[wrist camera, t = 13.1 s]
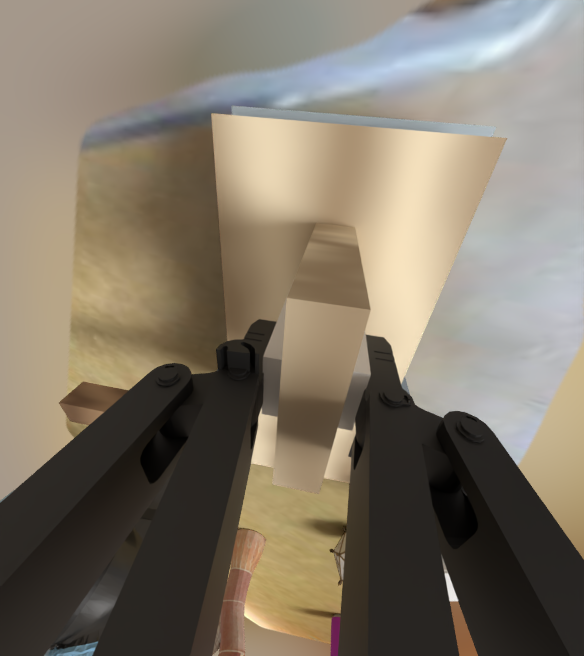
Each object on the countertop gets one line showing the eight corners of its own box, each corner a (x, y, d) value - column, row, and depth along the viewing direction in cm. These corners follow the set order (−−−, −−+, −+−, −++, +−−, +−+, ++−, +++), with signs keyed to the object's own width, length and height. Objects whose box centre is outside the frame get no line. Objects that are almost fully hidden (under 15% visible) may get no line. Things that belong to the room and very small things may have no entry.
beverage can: (337, 619, 90) (336, 677, 80) (328, 612, 86) (325, 671, 77) (358, 622, 87) (360, 682, 77) (350, 614, 84) (351, 676, 74)
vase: (236, 539, 64) (168, 781, 39) (229, 526, 60) (148, 785, 35) (278, 546, 62) (235, 807, 37) (274, 533, 58) (221, 814, 33)
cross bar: (92, 399, 26) (70, 421, 24) (83, 381, 24) (58, 402, 22) (229, 427, 24) (219, 452, 22) (228, 409, 23) (216, 434, 21)
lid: (242, 440, 26) (196, 570, 18) (228, 119, 12) (-2, 40, 4) (356, 463, 25) (364, 611, 17) (483, 141, 11) (861, 94, 3)
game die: (363, 514, 54) (388, 576, 49) (324, 529, 54) (345, 593, 49) (364, 521, 47) (394, 595, 42) (320, 539, 47) (344, 615, 42)
